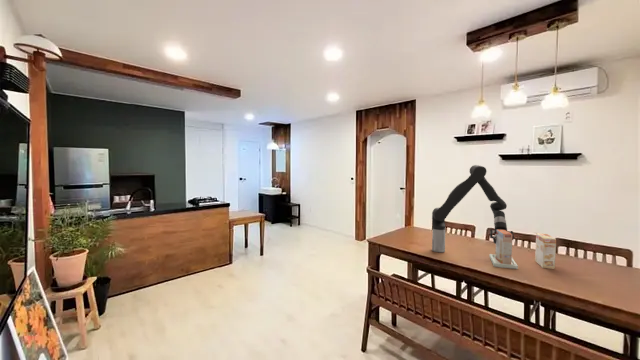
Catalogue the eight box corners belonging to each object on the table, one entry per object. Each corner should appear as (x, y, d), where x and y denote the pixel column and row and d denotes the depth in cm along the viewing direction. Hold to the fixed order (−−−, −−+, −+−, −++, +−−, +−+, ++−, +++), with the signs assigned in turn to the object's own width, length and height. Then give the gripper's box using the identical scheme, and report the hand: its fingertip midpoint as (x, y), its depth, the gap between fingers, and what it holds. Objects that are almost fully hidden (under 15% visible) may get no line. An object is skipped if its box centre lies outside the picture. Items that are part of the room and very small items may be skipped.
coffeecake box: (555, 269, 191) (556, 239, 190) (542, 267, 194) (543, 238, 192) (546, 261, 205) (548, 233, 204) (534, 260, 208) (535, 233, 206)
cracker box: (512, 265, 196) (513, 234, 195) (501, 264, 198) (502, 233, 196) (504, 258, 210) (505, 229, 208) (494, 258, 211) (495, 228, 210)
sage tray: (493, 266, 196) (493, 263, 196) (489, 256, 216) (489, 253, 216) (517, 269, 191) (518, 265, 191) (511, 259, 211) (511, 256, 211)
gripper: (489, 220, 216) (491, 240, 206) (512, 222, 210) (515, 242, 200) (488, 226, 221) (490, 245, 211) (510, 227, 215) (513, 247, 206)
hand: (502, 243), depth 206 cm, fingers open, 8 cm apart
